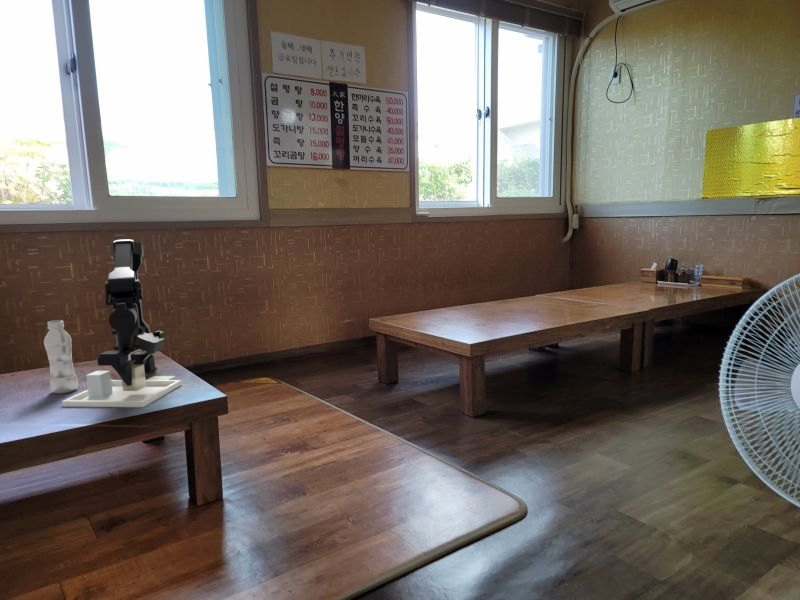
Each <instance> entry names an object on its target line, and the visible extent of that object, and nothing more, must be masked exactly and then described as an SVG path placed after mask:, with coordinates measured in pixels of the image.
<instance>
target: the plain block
mask: <svg viewBox="0 0 800 600" xmlns="http://www.w3.org/2000/svg"><path fill="white" fill-rule="evenodd" d="M85 377H86V378H85V379H86V385H87V390H88V394H89V397H104V396H106V395H109V394H111V393H113V390H112V382H111V380H112V376H111V370H95V371H93V372H90V373H88V374H86V375H85Z"/></svg>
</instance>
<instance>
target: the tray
mask: <svg viewBox="0 0 800 600" xmlns="http://www.w3.org/2000/svg"><path fill="white" fill-rule="evenodd" d="M111 382H112V390H113V393H111V394H109V395H106V396H104V397H89V394H88V389H86V390H84V391H81V392H79V393H77V394H75V395H73V396H71V397H68V398H66V399H64V400H62V401H61V405H62V407H67V408H68V407H69V408H70V407H73V408H74V407H75V408H76V407H78V408H80V407H84V408H86V407H87V408H88V407H89V408H93V407H94V408H145V407H146V406H148V405H150V404H151V403H153V402H155V401H157V400H158V399H160V398H162V397H163V396H166V395H167V394H168V393H170V392H172V391H173V390H176V389H177V388H178V387H180V386H182V385H183V382H182V380H181V379H170V380H147V379H146V387H144V388H142V389H140V390H138V391H123V386H122V379H111Z"/></svg>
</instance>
